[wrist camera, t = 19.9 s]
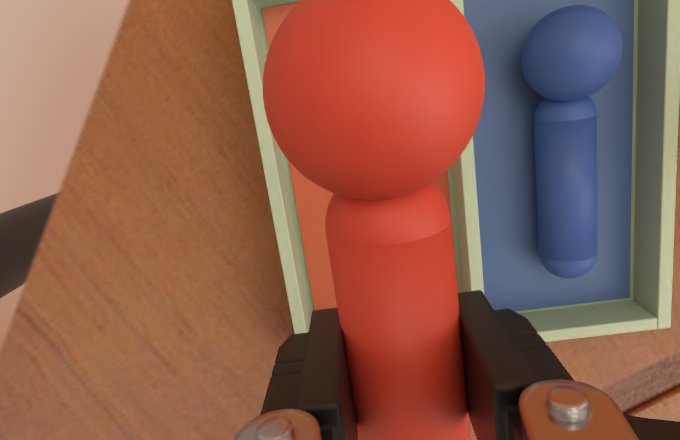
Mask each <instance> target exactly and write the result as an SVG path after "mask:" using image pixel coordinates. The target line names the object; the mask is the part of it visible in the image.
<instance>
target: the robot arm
mask: <svg viewBox="0 0 680 440" xmlns="http://www.w3.org/2000/svg"><path fill="white" fill-rule="evenodd" d="M458 302H459V321H460V332H461V344H462V355H463V366H464V378H465V389H466V400H467V412H468V415H469V417H470V420H471V423H472V426H473V429H474V432H475V434H476V437H477V440H680V422H675V421H666V420H657V419H648V418H640V417H634V416H630V415H626V414H623V413H622V412H621V410H620V409H619V407H618V406H617V404H616V403H615V402H614V400H613V399H612V398H610V397H609V396H608V395H607V394H605V393H604V392H603V391H601V390H599V389H597V388H595V387H593V386H590V385H588V384H585V383H581V382H577V381H574V380H573V378H572V377H571V376H570V374H569V373H568V372H567V370H566V369H565V368H564V366H563V365H562V364H561V362H560V361H559V360H558V359H557V357H556V356H555V355H554V353H553V352H552V351H551V349H550V348H549V347H548V346H546V343H545V341H544V340H543V339H542V337H541V336H540V335H539V334H537V331H536V329H535V328H534V327H533V325H532V324H531V323H530V322H529V320H528V319H527V318H525V317H524V316H522V315H520V314H518V313H516V312H515V311H513V310H511V309H501V310H494V309H493V308H492V306H491V304H490V303H489V301H488V300H487V298H486V297H485V295H484V293H483V292H482V291H481V290H476V291H468V292H460V293H458ZM234 440H358V423H357V417H356V411H355V405H354V398H353V392H352V386H351V379H350V373H349V367H348V361H347V354H346V348H345V342H344V335H343V329H342V328H341V325H340V321H339V315H338V308H337V307H336V308H328V309H320V310H313V311H312V315H311V321H310V326H309V332H307V333H299V334H292V335H291V336H290V337H289V338H288V339H287V340H286V341H285V342H284V343H283V344H282V345H281V346H280V347H279V350H278V354H277V357H276V361H275V365H274V368H273V372H272V377H271V379H270V382H269V386H268V390H267V393H266V397H265V400H264V404H263V408H262V411H261V415H260V416H258V417H256V418H255V419H253V420H252V421H250V422H249V423H248V424H246V425H245V426H244V427H243V428H242V429H241V430H240V431H239V433H238V434H237V436H236V437H235V439H234Z"/></svg>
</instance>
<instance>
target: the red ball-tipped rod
mask: <svg viewBox="0 0 680 440" xmlns="http://www.w3.org/2000/svg"><path fill="white" fill-rule="evenodd" d="M484 93H485V74H484V66H483V59H482V56H481V52H480V48H479V45H478V42H477V40H476V37H475V35H474V33H473V31H472V29H471V27H470V25H469V24H468V22H467V20H466V18H465V17H464V16H463V15H462V13H461V12H460V11H459V9H458V8H457V7H456V6H455V5H454V4H453V3H452V2H451V1H450V0H300V1H299V2H298V3H297V4H296V5H295V6H294V7H293V8H292V9H291V11H290V12H289V13H288V15H287V16H286V17H285V19H284V20H283V21H282V23H281V25H280V26H279V28H278V30H277V32H276V33H275V35H274V38H273V40H272V42H271V45H270V47H269V50H268V54H267V58H266V61H265V66H264V74H263V101H264V109H265V113H266V117H267V121H268V124H269V127H270V129H271V132H272V134H273V137H274V139H275V140H276V142H277V144H278V146H279V148H280V149H281V151H282V152H283V154H284V155H285V156H286V158H287V159H288V161H289V162H290V163H291V164H292V165H293V166H294V167H295V168H296V169H297V170H298V171H299V172H300V173H301V174H302V175H304V176H305V177H306V178H307V179H308V180H310V181H312V182H313V183H315V184H316V185H318V186H319V187H321V188H323V189H325V190H328V191H330V192H332V193H334V194H333V196H332V198H331V200H330V202H329V205H328V208H327V212H326V218H325V230H326V240H327V246H328V253H329V259H330V265H331V271H332V277H333V284H334V290H335V296H336V302H337V308H338V315H339V321H340V325H341V328H342V329H343V335H344V342H345V348H346V354H347V361H348V367H349V373H350V379H351V386H352V392H353V398H354V405H355V411H356V417H357V423H358V439H359V440H471V438H470V426H469V415H468V412H467V400H466V389H465V378H464V366H463V355H462V344H461V332H460V321H459V302H458V290H457V279H456V268H455V256H454V245H453V234H452V223H451V216H450V211H449V207H448V204H447V202H446V200H445V197H444V195H443V193H442V192H441V190H440V189H439V187H438V186H437V185H436V183H435V182H433V181H434V180H436V179H437V178H438V177H440V176H441V175H442V174H443V173H444V172H446V171H447V170H448V169H449V168H450V167H451V166H452V165H453V164H454V163H455V161H456V160H457V159H458V158H459V157H460V155H461V154H462V153H463V151H464V150H465V148H466V147H467V145H468V143H469V142H470V140H471V138H472V136H473V134H474V132H475V129H476V127H477V124H478V122H479V119H480V115H481V111H482V107H483V101H484Z"/></svg>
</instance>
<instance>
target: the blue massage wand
mask: <svg viewBox="0 0 680 440" xmlns="http://www.w3.org/2000/svg"><path fill="white" fill-rule="evenodd" d="M622 50H623V43H622V36H621V33H620V30H619V28H618V26H617V25H616V23H615V22H614V20H613V19H612V18H611V17H610V16H609V15H608V14H606V13H605V12H603V11H601V10H600V9H597V8H595V7H591V6H587V5H571V6H567V7H563V8H560V9H557V10H555V11H553V12H551V13H549V14H548V15H546V16H545V17H543V18H542V19H541V20H540V21H539V22H538V23H537V24H536V25H535V26H534V27H533V28H532V30H531V31H530V33H529V34H528V36H527V38H526V40H525V43H524V46H523V49H522V55H521V66H522V71H523V74H524V77H525V79H526V81H527V82H528V84H529V85H530V87H531V88H532V89H533V90H534V91H535V92H537V93H538V94H539V95H541V96H543V97H544V98H543V99H542V100H541V102H540V103H539V104H538V106H537V108H536V110H535V113H534V145H535V170H536V194H537V219H538V243H539V256H540V259H541V262H542V264H543V265H544V267H545V268H546V269H547V270H548V271H549V272H551V273H552V274H554V275H556V276H558V277H562V278H576V277H580V276H582V275H584V274H586V273H587V272H588V271H589V270H591V269H592V267H593V266H594V264H595V262H596V259H597V253H598V243H597V115H596V108H595V105H594V103H593V101H592V100H591V98H590V97H589V96H590V95H592V94H594V93H595V92H597V91H599V90H600V89H601V88H602V87H603V86H605V85H606V84H607V83H608V82H609V80H610V79H611V78H612V77H613V75H614V73H615V72H616V70H617V68H618V66H619V64H620V60H621V57H622Z"/></svg>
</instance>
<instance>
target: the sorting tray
mask: <svg viewBox="0 0 680 440" xmlns="http://www.w3.org/2000/svg"><path fill="white" fill-rule="evenodd" d="M299 1H300V0H232V5H233V10H234V15H235V21H236V26H237V31H238V37H239V42H240V47H241V52H242V58H243V63H244V68H245V74H246V79H247V84H248V90H249V95H250V100H251V106H252V111H253V116H254V122H255V127H256V132H257V138H258V143H259V148H260V153H261V159H262V164H263V169H264V175H265V180H266V185H267V191H268V196H269V201H270V207H271V212H272V217H273V223H274V228H275V233H276V239H277V244H278V249H279V254H280V260H281V265H282V270H283V276H284V281H285V286H286V292H287V297H288V302H289V308H290V313H291V318H292V324H293V329H294V334H299V333H307V332H309V326H310V321H311V315H312V311H313V310H320V309H328V308H336V307H337V302H336V296H335V290H334V284H333V277H332V271H331V265H330V259H329V253H328V246H327V240H326V230H325V218H326V212H327V208H328V205H329V202H330V200H331V198H332V196H333V194H334V193H332V192H330V191H328V190H325V189H323V188H321V187H319V186H318V185H316V184H315V183H313V182H312V181H310V180H308V179H307V178H306V177H305V176H304V175H302V174H301V173H300V172H299V171H298V170H297V169H296V168H295V167H294V166H293V165H292V164H291V163H290V162H289V161H288V159H287V158H286V156H285V155H284V154H283V152H282V151H281V149H280V148H279V146H278V144H277V142H276V140H275V139H274V137H273V134H272V132H271V129H270V127H269V124H268V121H267V117H266V113H265V109H264V101H263V74H264V66H265V61H266V58H267V54H268V50H269V47H270V45H271V42H272V40H273V38H274V35H275V33H276V32H277V30H278V28H279V26H280V25H281V23H282V21H283V20H284V19H285V17H286V16H287V15H288V13H289V12H290V11H291V9H292V8H293V7H294V6H295V5H296V4H297V3H298V2H299ZM450 1H451V2H452V3H453V4H454V5H455V6H456V7H457V8H458V9H459V11H460V12H461V13H462V15H463V16H464V17H465V18H466V20H467V22H468V24H469V25H470V27H471V29H472V31H473V33H474V35H475V37H476V40H477V42H478V45H479V48H480V52H481V56H482V59H483V66H484V74H485V93H484V101H483V107H482V111H481V115H480V119H479V122H478V124H477V127H476V129H475V132H474V134H473V136H472V138H471V140H470V142H469V143H468V145H467V147H466V148H465V150H464V151H463V153H462V154H461V155H460V157H459V158H458V159H457V160H456V161H455V163H454V164H453V165H452V166H451V167H450V168H449V169H448V170H447V171H446V172H444V173H443V174H442V175H441V176H440V177H438V178H437V179H436V180H434V181H433V182H435V183H436V185H437V186H438V187H439V189H440V190H441V192H442V193H443V195H444V197H445V200H446V202H447V204H448V207H449V211H450V216H451V223H452V234H453V245H454V256H455V268H456V279H457V290H458V293H460V292H468V291H476V290H481V291H482V292H483V293H484V295H485V297H486V298H487V300H488V301H489V303H490V304H491V306H492V308H493V309H494V310H501V309H511V310H513V311H515V312H516V313H518V314H520V315H522V316H524V317H525V318H527V319H528V320H529V322H530V323H531V324H532V325H533V327H534V328H535V329H536V331H537V334H539V335H540V336H541V337H542V339H543V340H544V341H545V342H551V341H559V340H568V339H576V338H585V337H593V336H602V335H611V334H619V333H628V332H636V331H645V330H653V329H663V328H670V326H671V300H672V275H673V249H674V224H675V198H676V173H677V147H678V121H679V96H680V0H450ZM571 5H587V6H591V7H595V8H597V9H600V10H601V11H603V12H605V13H606V14H608V15H609V16H610V17H611V18H612V19H613V20H614V22H615V23H616V25H617V26H618V28H619V30H620V33H621V36H622V43H623V50H622V57H621V60H620V64H619V66H618V68H617V70H616V72H615V73H614V75H613V77H612V78H611V79H610V80H609V82H608V83H607V84H606V85H605V86H603V87H602V88H601V89H600V90H599V91H597V92H595V93H594V94H592V95H590V96H589V97H590V98H591V100H592V101H593V103H594V105H595V108H596V115H597V243H598V253H597V259H596V262H595V264H594V266H593V267H592V269H591V270H589V271H588V272H587V273H586V274H584V275H582V276H580V277H576V278H562V277H558V276H556V275H554V274H552V273H551V272H549V271H548V270H547V269H546V268H545V267H544V265H543V264H542V262H541V259H540V256H539V243H538V219H537V194H536V170H535V145H534V113H535V110H536V108H537V106H538V104H539V103H540V102H541V100H542V99H543V98H544V97H543V96H541V95H539V94H538V93H537V92H535V91H534V90H533V89H532V88H531V87H530V85H529V84H528V82H527V81H526V79H525V77H524V74H523V71H522V66H521V55H522V49H523V46H524V43H525V40H526V38H527V36H528V34H529V33H530V31H531V30H532V28H533V27H534V26H535V25H536V24H537V23H538V22H539V21H540V20H541V19H542V18H543V17H545V16H546V15H548V14H549V13H551V12H553V11H555V10H557V9H560V8H563V7H567V6H571Z"/></svg>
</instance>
